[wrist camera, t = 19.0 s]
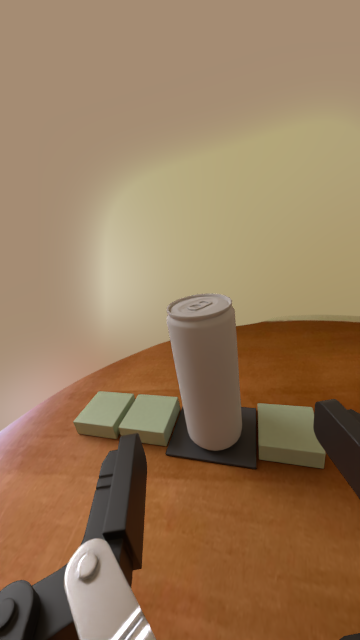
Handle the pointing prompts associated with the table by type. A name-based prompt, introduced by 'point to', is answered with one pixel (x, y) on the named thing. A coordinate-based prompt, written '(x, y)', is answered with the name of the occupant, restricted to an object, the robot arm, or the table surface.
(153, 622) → the table surface
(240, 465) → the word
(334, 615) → the table surface
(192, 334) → the beverage can
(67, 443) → the table surface
